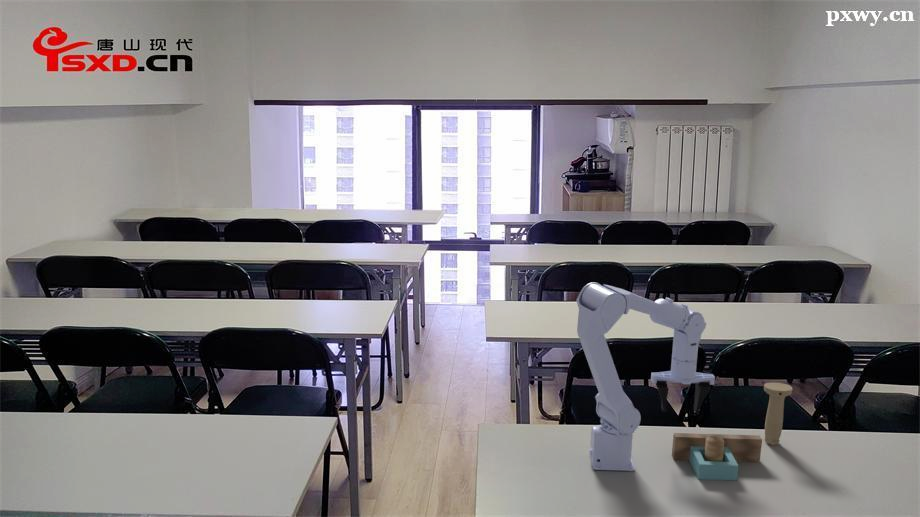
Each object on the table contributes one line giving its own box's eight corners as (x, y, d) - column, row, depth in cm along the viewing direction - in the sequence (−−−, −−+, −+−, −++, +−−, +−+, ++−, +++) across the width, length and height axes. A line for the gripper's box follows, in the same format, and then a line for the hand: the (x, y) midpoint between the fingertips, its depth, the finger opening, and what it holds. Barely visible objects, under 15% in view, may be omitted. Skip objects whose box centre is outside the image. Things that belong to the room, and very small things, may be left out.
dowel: (705, 472, 184) (707, 444, 183) (702, 463, 188) (704, 435, 187) (723, 472, 184) (726, 444, 182) (719, 463, 188) (722, 436, 186)
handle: (787, 448, 197) (794, 391, 193) (760, 446, 198) (766, 390, 194) (782, 439, 202) (789, 383, 198) (755, 437, 202) (762, 381, 198)
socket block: (698, 479, 183) (699, 464, 182) (689, 460, 191) (690, 445, 190) (736, 480, 182) (738, 465, 181) (726, 461, 191) (727, 447, 190)
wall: (673, 460, 191) (675, 436, 190) (671, 455, 193) (673, 432, 191) (759, 462, 190) (762, 439, 189) (756, 458, 192) (759, 435, 191)
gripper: (656, 363, 187) (652, 417, 191) (720, 364, 187) (714, 418, 190) (650, 351, 194) (647, 404, 197) (712, 353, 193) (707, 405, 197)
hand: (679, 410), depth 194 cm, fingers open, 7 cm apart
